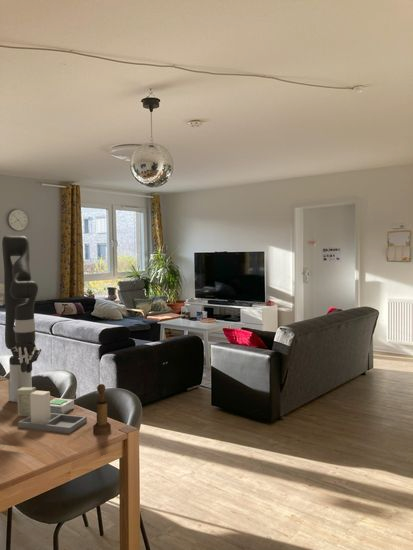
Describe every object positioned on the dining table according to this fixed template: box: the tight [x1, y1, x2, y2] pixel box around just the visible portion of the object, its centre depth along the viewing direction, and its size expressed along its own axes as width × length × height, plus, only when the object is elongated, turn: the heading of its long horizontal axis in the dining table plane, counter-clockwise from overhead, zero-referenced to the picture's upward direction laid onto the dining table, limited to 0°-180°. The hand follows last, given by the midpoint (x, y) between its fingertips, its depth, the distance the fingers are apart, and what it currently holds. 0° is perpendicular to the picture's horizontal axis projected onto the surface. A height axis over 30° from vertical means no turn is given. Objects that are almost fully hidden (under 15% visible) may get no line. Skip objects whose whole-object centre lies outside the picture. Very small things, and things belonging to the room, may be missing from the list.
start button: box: [50, 399, 67, 405], centre depth 191 cm, size 5×5×3 cm
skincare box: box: [16, 386, 37, 417], centre depth 187 cm, size 6×4×12 cm
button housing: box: [50, 397, 75, 414], centre depth 191 cm, size 9×9×5 cm
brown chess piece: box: [92, 383, 112, 436], centre depth 171 cm, size 7×6×18 cm
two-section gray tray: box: [17, 413, 88, 434], centre depth 175 cm, size 22×12×4 cm, turn 74°
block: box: [30, 390, 51, 424], centre depth 177 cm, size 6×4×12 cm, turn 74°
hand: (26, 372), depth 186 cm, fingers closed
